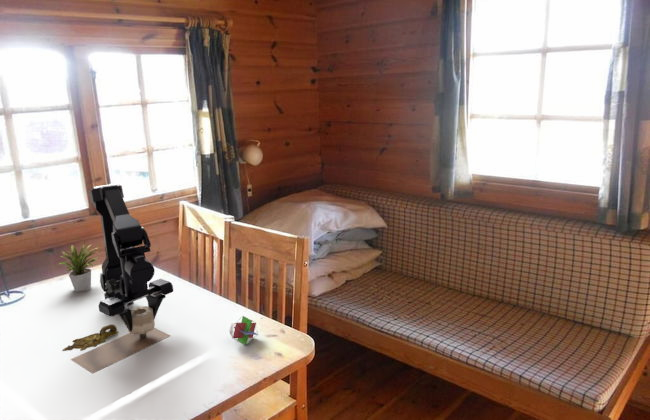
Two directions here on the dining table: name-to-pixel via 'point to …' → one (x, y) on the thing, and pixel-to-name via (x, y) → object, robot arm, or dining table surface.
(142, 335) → the steel post
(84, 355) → the board
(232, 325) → the geometric puzzle
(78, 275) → the house plant
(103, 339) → the olive gold carved ornament
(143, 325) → the beech bead
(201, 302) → the dining table surface
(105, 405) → the dining table surface
